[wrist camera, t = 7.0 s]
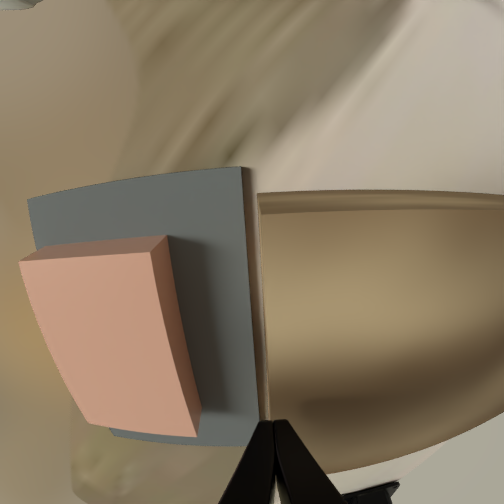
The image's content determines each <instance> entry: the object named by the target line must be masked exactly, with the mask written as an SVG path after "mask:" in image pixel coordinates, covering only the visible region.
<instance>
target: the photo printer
mask: <svg viewBox="0 0 504 504" xmlns="http://www.w3.org/2000/svg"><path fill="white" fill-rule="evenodd" d="M41 1H42V0H0V10H22V9H29V8H32V7H34V6H35V5H36V3H38V2H41Z"/></svg>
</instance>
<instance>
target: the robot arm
mask: <svg viewBox="0 0 504 504" xmlns="http://www.w3.org/2000/svg"><path fill="white" fill-rule="evenodd" d="M276 482H277V488H278V492H279V497H280V501H281V504H392V501H391V498H390V497H391V496H392V495H393V493H394V492H395V491H396V489H397V488H398V487H399V486H400V484H399V482H395V483H391V484H388V485H385V486H381V487H378V488H374V489H370V490H366V491H362V492H358V493H354V494H349V495H344V496H342V495H341V494H340V493H339V492H338V490H337V489H336V488H335V486H334V485H333V484H332V482H331V481H330V479H329V478H328V477H327V475H326V474H325V473H324V471H323V470H322V469H321V467H320V466H319V464H318V463H317V462H316V460H315V459H314V457H313V456H312V455H311V453H310V452H309V450H308V449H307V447H306V446H305V445H304V443H303V442H302V440H301V439H300V437H299V436H298V434H297V433H296V431H295V430H294V429H293V427H292V426H291V424H290V423H289V421H288V420H287V419H279V420H274V421H271V420H264V421H259V422H258V423H257V426H256V428H255V430H254V432H253V434H252V437H251V439H250V441H249V443H248V445H247V447H246V449H245V451H244V454H243V456H242V458H241V460H240V462H239V464H238V466H237V468H236V470H235V472H234V474H233V476H232V478H231V480H230V482H229V484H228V486H227V488H226V490H225V491H224V493H223V495H222V497H221V499H220V501H219V503H218V504H274V497H275V486H276Z"/></svg>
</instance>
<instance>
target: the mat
mask: <svg viewBox="0 0 504 504" xmlns="http://www.w3.org/2000/svg"><path fill="white" fill-rule="evenodd" d="M27 202H28V208H29V214H30V220H31V225H32V230H33V235H34V240H35V245H36V249H37V250H39V249H41V248H43V247H45V246H51V245H60V244H70V243H80V242H90V241H101V240H112V239H123V238H134V237H146V236H158V235H167V239H168V246H169V252H170V259H171V265H172V271H173V277H174V283H175V289H176V294H177V300H178V305H179V310H180V315H181V320H182V325H183V330H184V335H185V340H186V344H187V349H188V353H189V358H190V362H191V366H192V370H193V375H194V379H195V383H196V387H197V391H198V394H199V398H200V402H201V406H202V411H201V417H200V423H199V429H198V435H197V437H185V436H171V435H160V434H151V433H143V432H135V431H129V430H122V429H116V428H111V427H109V429H110V430H111V432H112V433H113V435H114V436H118V437H124V438H130V439H136V440H143V441H151V442H159V443H169V444H181V445H197V446H247V445H248V443H249V441H250V439H251V437H252V434H253V432H254V430H255V428H256V426H257V423H258V422H259V421H260V420H259V407H258V394H257V381H256V368H255V355H254V342H253V328H252V315H251V301H250V287H249V273H248V259H247V245H246V231H245V216H244V202H243V187H242V172H241V166H240V167H226V168H214V169H204V170H194V171H184V172H176V173H167V174H159V175H152V176H145V177H138V178H131V179H125V180H118V181H112V182H107V183H101V184H95V185H90V186H85V187H80V188H75V189H70V190H65V191H60V192H56V193H52V194H47V195H42V196H38V197H34V198H31V199H28V200H27Z"/></svg>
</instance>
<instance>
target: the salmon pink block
mask: <svg viewBox="0 0 504 504" xmlns="http://www.w3.org/2000/svg"><path fill="white" fill-rule="evenodd" d="M19 266H20V270H21V273H22V277H23V280H24V284H25V287H26V290H27V293H28V296H29V299H30V302H31V305H32V308H33V311H34V313H35V316H36V319H37V322H38V324H39V327H40V329H41V331H42V334H43V337H44V339H45V341H46V344H47V346H48V348H49V350H50V353H51V355H52V357H53V359H54V361H55V363H56V366H57V368H58V370H59V371H60V374H61V376H62V377H63V380H64V381H65V383H66V385H67V387H68V389H69V391H70V393H71V395H72V396H73V398H74V400H75V402H76V403H77V405H78V407H79V409H80V410H81V412H82V414H83V415H84V417H85V418H86V420H87V422H88V423H91V424H95V425H100V426H105V427H111V428H116V429H122V430H129V431H135V432H143V433H151V434H160V435H171V436H185V437H197V435H198V429H199V423H200V417H201V411H202V406H201V402H200V398H199V394H198V391H197V387H196V383H195V379H194V375H193V370H192V366H191V362H190V358H189V353H188V349H187V344H186V340H185V335H184V330H183V325H182V320H181V315H180V310H179V305H178V300H177V294H176V289H175V283H174V277H173V271H172V265H171V259H170V252H169V246H168V239H167V235H158V236H146V237H134V238H123V239H112V240H101V241H90V242H80V243H70V244H60V245H51V246H45V247H43V248H41V249H39V250H37V251H36V252H34V253H32V254H30V255H29V256H27V257H25V258H23V259H22V260H20V261H19Z"/></svg>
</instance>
